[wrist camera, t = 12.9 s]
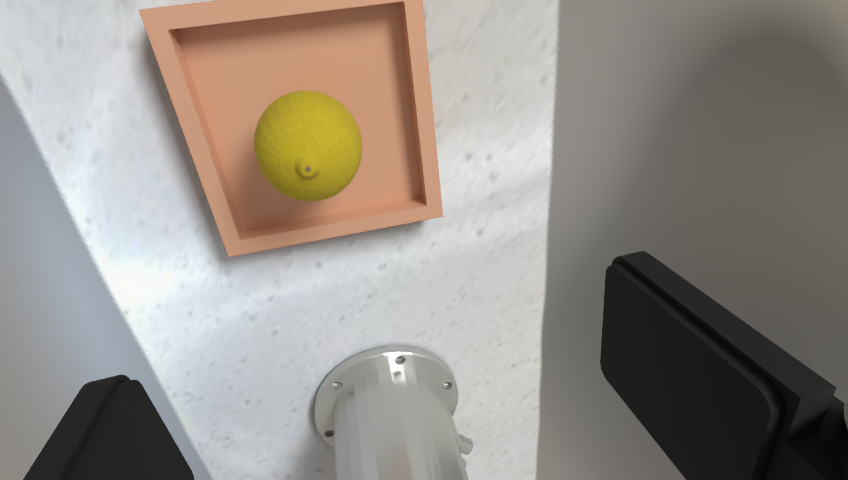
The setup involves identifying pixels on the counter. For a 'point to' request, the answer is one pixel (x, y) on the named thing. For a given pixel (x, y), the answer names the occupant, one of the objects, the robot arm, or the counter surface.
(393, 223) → the dish
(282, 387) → the counter surface
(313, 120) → the lemon
